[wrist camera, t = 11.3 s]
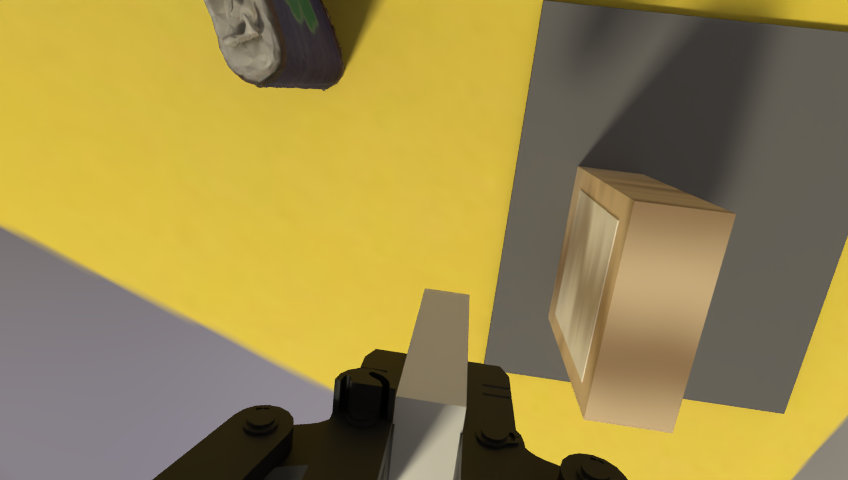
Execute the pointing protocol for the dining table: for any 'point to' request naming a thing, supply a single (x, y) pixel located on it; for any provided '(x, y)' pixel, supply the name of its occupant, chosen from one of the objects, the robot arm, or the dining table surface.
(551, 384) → the dining table surface
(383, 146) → the dining table surface
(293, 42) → the flask
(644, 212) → the oak tile
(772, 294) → the mat
